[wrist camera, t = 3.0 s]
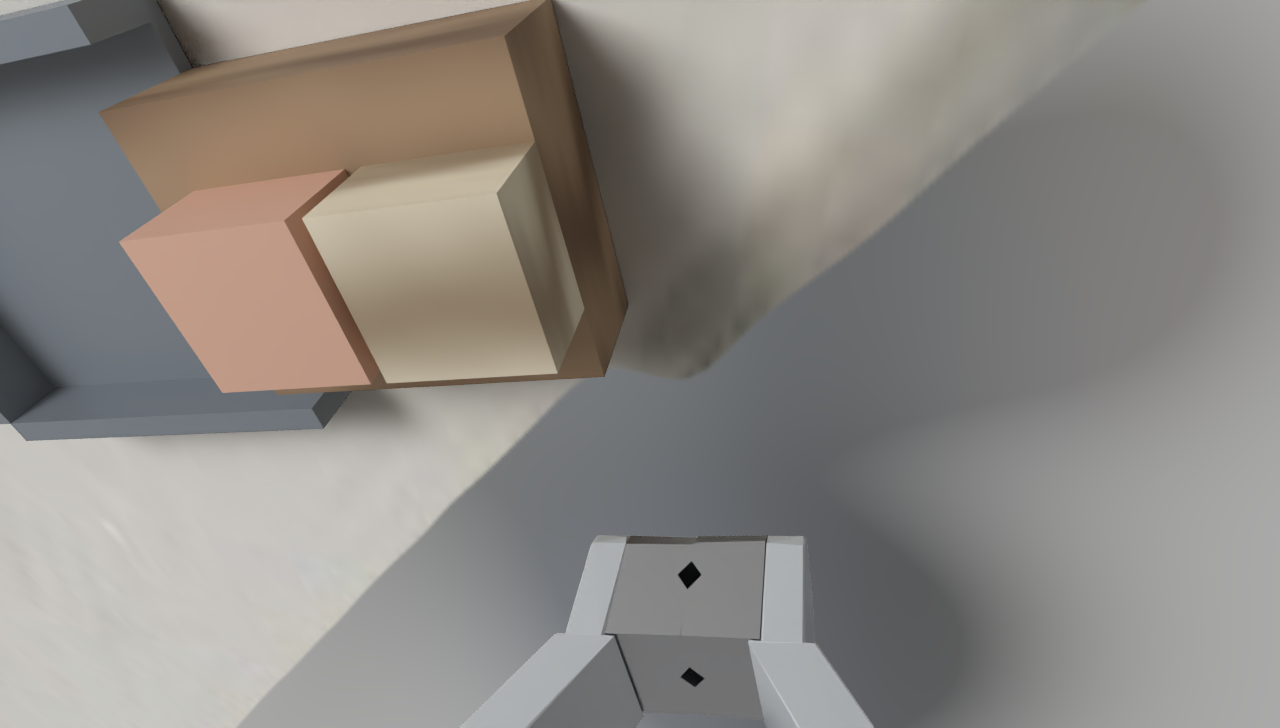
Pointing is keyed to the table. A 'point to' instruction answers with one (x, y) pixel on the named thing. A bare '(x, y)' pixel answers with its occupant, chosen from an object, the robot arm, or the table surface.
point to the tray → (96, 244)
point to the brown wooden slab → (392, 133)
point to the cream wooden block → (452, 264)
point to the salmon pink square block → (254, 286)
